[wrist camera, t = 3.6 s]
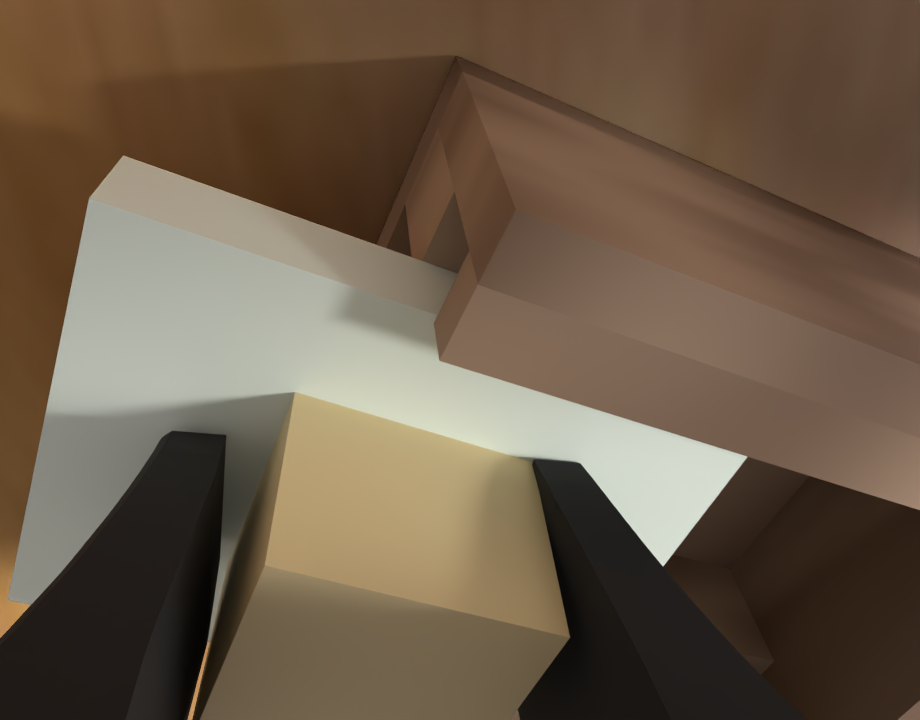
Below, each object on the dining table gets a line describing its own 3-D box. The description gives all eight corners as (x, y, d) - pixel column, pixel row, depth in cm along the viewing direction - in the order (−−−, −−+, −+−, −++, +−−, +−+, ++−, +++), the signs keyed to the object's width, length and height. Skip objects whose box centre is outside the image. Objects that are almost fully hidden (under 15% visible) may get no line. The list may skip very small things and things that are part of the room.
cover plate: (736, 371, 11) (872, 594, 8) (539, 648, 14) (581, 892, 11) (123, 154, 9) (-25, 340, 6) (39, 533, 12) (-89, 795, 9)
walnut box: (972, 281, 15) (1228, 482, 10) (695, 607, 19) (795, 844, 15) (456, 55, 12) (516, 208, 7) (265, 505, 16) (232, 769, 12)
